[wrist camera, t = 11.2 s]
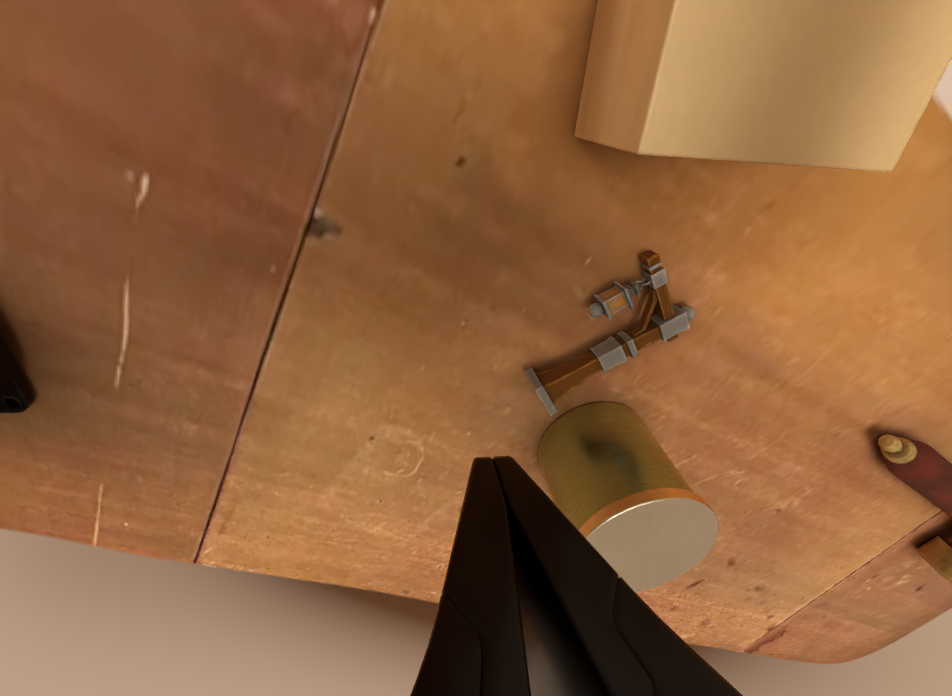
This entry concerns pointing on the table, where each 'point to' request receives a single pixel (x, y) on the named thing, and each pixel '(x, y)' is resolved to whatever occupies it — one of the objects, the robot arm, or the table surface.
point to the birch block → (764, 79)
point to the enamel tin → (625, 494)
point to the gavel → (924, 488)
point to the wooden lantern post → (617, 349)
